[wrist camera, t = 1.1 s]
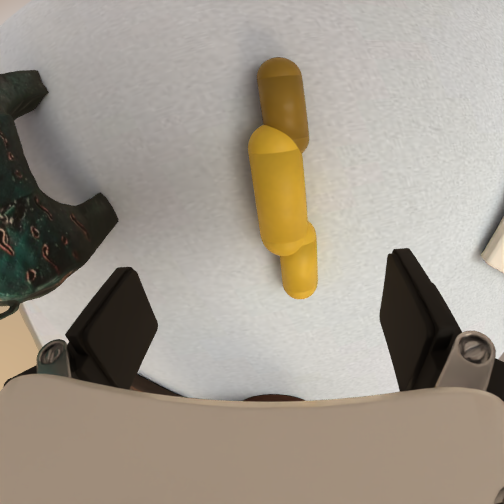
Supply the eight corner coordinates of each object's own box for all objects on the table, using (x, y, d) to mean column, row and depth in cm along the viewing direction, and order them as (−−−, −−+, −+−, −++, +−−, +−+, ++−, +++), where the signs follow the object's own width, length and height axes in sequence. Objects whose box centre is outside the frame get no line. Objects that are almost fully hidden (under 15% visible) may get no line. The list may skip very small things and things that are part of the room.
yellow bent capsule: (235, 65, 16) (232, 58, 13) (295, 59, 16) (303, 51, 13) (268, 288, 25) (270, 314, 22) (314, 282, 25) (321, 308, 22)
